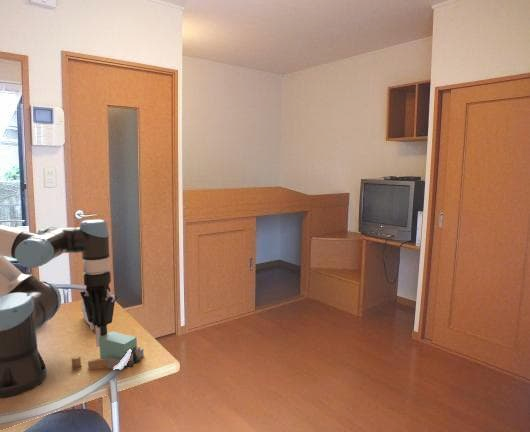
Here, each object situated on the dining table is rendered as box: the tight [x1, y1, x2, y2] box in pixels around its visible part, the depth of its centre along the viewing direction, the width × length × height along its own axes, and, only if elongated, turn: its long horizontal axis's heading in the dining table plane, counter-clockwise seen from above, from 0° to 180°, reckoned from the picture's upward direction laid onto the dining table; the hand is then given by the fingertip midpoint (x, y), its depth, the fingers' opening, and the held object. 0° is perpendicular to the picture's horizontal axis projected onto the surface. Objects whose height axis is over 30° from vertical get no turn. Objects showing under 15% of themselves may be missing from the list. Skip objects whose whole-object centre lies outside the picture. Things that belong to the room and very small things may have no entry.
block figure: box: [71, 347, 145, 370], centre depth 120 cm, size 18×15×2 cm
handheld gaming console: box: [80, 297, 94, 331], centre depth 146 cm, size 11×3×15 cm
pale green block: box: [99, 331, 138, 362], centre depth 119 cm, size 5×10×7 cm, turn 65°
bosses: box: [126, 346, 142, 369], centre depth 117 cm, size 5×2×4 cm, turn 155°
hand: (101, 344), depth 122 cm, fingers closed
